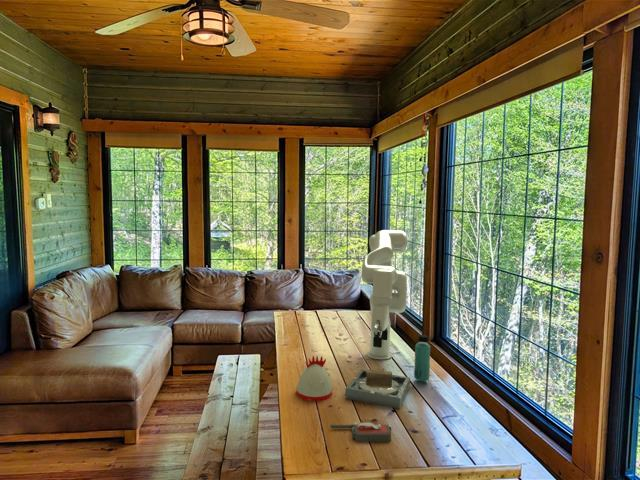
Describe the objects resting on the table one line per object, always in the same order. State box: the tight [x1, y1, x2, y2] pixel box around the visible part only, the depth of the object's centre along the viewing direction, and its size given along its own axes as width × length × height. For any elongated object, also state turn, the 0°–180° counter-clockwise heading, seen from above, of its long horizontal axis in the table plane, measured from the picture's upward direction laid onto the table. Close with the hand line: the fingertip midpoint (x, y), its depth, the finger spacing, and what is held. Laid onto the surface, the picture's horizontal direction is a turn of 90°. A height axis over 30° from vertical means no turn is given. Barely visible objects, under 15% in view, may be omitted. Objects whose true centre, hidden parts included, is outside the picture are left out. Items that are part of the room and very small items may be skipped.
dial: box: [359, 369, 399, 395], centre depth 174 cm, size 16×16×6 cm
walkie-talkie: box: [329, 421, 392, 442], centre depth 142 cm, size 9×4×20 cm
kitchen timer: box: [296, 355, 333, 402], centre depth 172 cm, size 14×14×15 cm
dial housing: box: [344, 369, 411, 410], centre depth 174 cm, size 21×21×4 cm
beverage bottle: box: [413, 334, 432, 382], centre depth 185 cm, size 6×7×20 cm
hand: (380, 343), depth 173 cm, fingers open, 9 cm apart
